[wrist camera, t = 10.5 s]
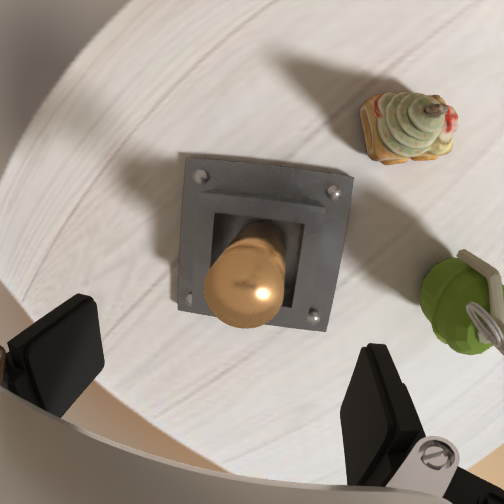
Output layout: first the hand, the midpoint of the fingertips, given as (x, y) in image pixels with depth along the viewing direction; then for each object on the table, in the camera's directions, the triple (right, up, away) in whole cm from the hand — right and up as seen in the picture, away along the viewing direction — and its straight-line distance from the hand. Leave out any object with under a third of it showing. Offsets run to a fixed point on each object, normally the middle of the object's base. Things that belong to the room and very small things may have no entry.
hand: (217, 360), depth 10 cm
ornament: (+14, +14, +14) cm, 24 cm away
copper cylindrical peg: (+2, +4, +17) cm, 17 cm away
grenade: (+20, +1, +17) cm, 26 cm away
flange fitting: (+2, +4, +18) cm, 18 cm away
